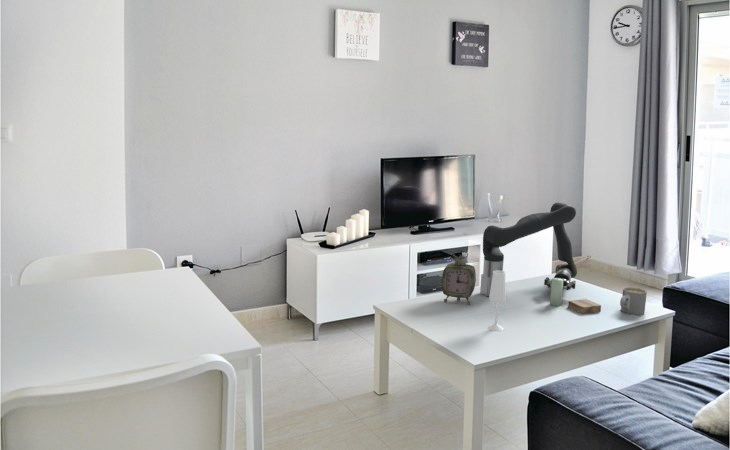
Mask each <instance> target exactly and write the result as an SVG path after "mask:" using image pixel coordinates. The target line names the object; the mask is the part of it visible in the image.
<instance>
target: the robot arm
mask: <svg viewBox="0 0 730 450" xmlns="http://www.w3.org/2000/svg"><path fill="white" fill-rule="evenodd" d="M549 211H550V212H549ZM549 211H547V212H537V213H532V214H528V215H526V216H523V217H521V218H520V219H519V220H518V221H517V222H516V223H515V224H514V225H511V226H508V227H507V226H506V227H500V226H496V225H488V226H486V228H485V229H484V231H483V236H482V253H483V271H482V274H481V275H480V287H479V288H480V290H479V291H480V292H479V293H480V294H481V295H483V296H485V297H489V295H490V289H491V283H492V277H493V271H496V270H500V271H504V270H503V269H504V259H505V256H504V253H503V252H502V251H501V249H500V248H502V247H504V246H507V245H509V244H511V243H512V242H515V241H517V240H519V239H523V238H525V237H528V236H531V235H534V234H536V233H539V232H541V231H545V230H547V229H550V228H551V227H553V231H554V237H555V240H556V247H557V258H558V260H559V262H565V263H561V264H560V263H559V264H557V265H556V267H555V275H554V276H553V278H560V279H563V289H566V290H567V291H569V290H571V289H573V290H575V289H576V280H573V281H571V279H574V278H576V276H577V275H578V270H577V266H576V263H575V261H574V258H573V257H574V256H573V250H572V249H573V248H572V243H571V239H570V238H569V236H568V234H567V230H566V229H565V224H567V223H570V222H572V221H573V220H574V219H575V217H576V215H577V210H576V208H575V207H574V206H572V204H567V203H564V202H555V203H553V204H552V205H551V207H550V210H549ZM553 278H551V279H550V277H545V278H544V283H543V284H544V286H546V287H548V289H549V288H551V287H552V279H553Z"/></svg>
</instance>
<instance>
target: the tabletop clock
mask: <svg viewBox="0 0 730 450" xmlns="http://www.w3.org/2000/svg"><path fill="white" fill-rule="evenodd" d="M456 252H463V253H465V254H466V256H462V255H459V256H458V255H457V256H456V255H455V253H456ZM452 255H453V257H455V258H456V260H455V261H454V262H451V263H448V264H446V266H445V267H444V269H443V271H442V274H441V275H442V276H441V290H442V293H443V295H445V296H446V298H444V299H443V302H444V303H447V302H448V299H449V297H451V298H456V301H458V302H460V301H461V299H466V301H467V302H466V305H467V306H471V302H470V301H469V298H471V296H472V294H473V292H474V291H475V288H476V281H477V274H476V269H475V266H473V265H471V264H467V263H466V260H464V259H467V258H468V257H469V253H468V252H467V251H466V250H465V249H459V248H458V249H455V250H453V253H452Z"/></svg>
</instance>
